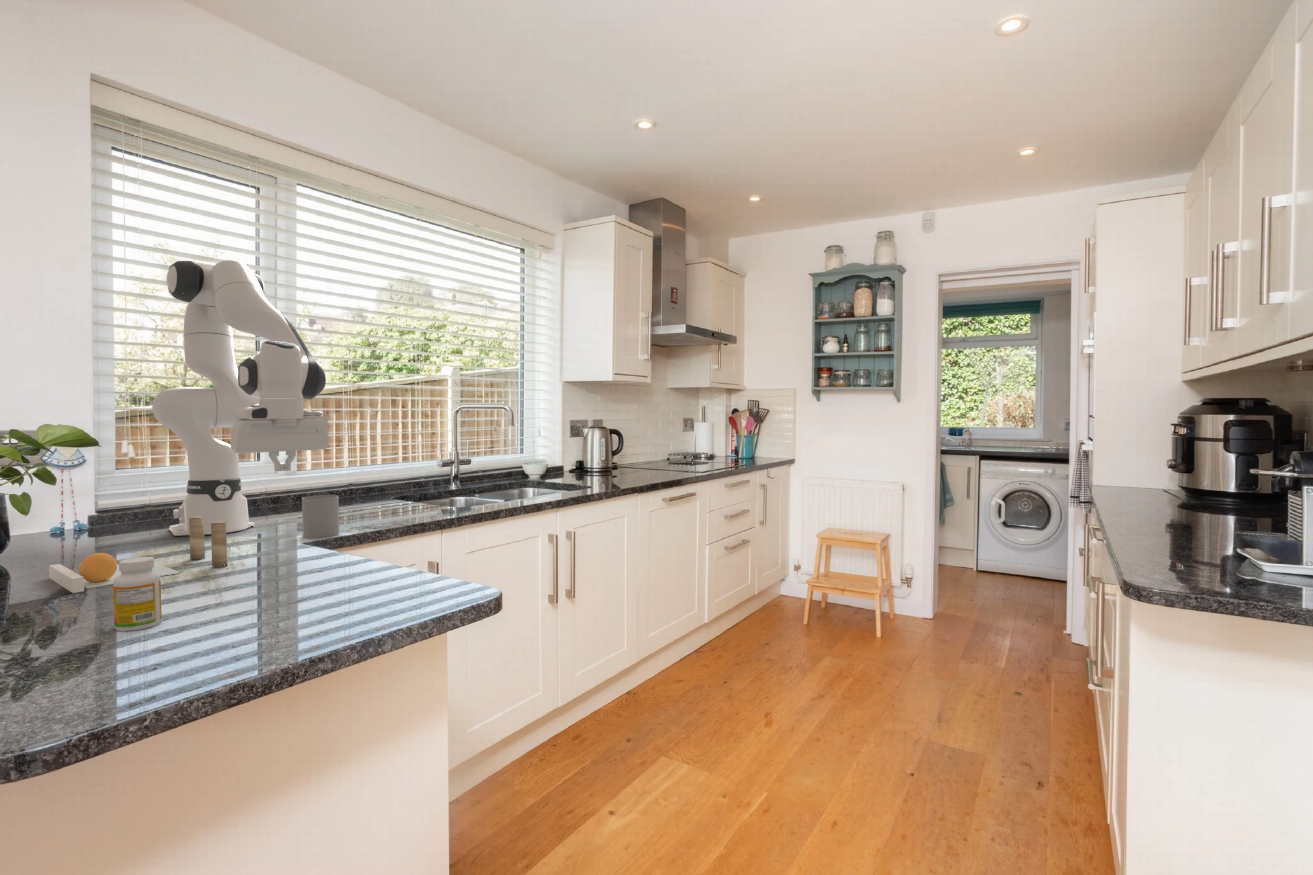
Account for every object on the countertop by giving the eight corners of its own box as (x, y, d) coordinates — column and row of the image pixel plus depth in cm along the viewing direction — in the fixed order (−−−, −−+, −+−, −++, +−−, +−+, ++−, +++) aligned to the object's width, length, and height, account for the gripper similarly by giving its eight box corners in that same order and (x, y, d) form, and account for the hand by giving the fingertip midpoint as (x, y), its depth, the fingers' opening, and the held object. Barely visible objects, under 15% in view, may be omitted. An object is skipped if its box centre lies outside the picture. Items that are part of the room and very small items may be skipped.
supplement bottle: (132, 620, 96) (130, 556, 96) (170, 619, 96) (168, 555, 96) (104, 632, 91) (102, 564, 90) (145, 631, 91) (143, 563, 91)
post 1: (188, 558, 139) (187, 517, 139) (202, 556, 141) (201, 516, 141) (192, 560, 138) (191, 518, 138) (206, 558, 140) (205, 517, 140)
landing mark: (67, 577, 123) (67, 576, 123) (157, 564, 135) (157, 563, 135) (86, 588, 115) (86, 587, 115) (180, 573, 126) (180, 572, 126)
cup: (323, 538, 163) (322, 499, 163) (295, 537, 165) (294, 498, 165) (346, 532, 172) (345, 495, 171) (319, 531, 173) (318, 494, 173)
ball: (75, 581, 119) (77, 552, 119) (113, 577, 123) (114, 549, 123) (80, 587, 116) (82, 557, 116) (119, 582, 120) (120, 553, 120)
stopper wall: (49, 578, 123) (49, 565, 123) (60, 576, 124) (59, 563, 124) (72, 593, 112) (72, 578, 112) (84, 591, 113) (83, 577, 113)
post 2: (210, 566, 132) (208, 522, 132) (224, 564, 134) (223, 521, 134) (214, 568, 130) (213, 524, 130) (229, 565, 132) (228, 522, 132)
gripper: (321, 411, 159) (322, 466, 160) (227, 410, 143) (228, 472, 144) (333, 411, 155) (334, 468, 156) (238, 411, 139) (239, 475, 140)
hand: (282, 470), depth 150 cm, fingers closed
